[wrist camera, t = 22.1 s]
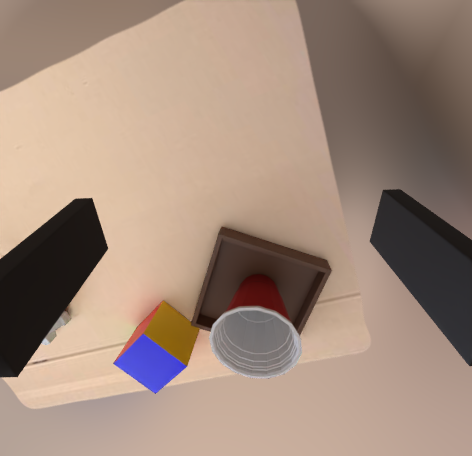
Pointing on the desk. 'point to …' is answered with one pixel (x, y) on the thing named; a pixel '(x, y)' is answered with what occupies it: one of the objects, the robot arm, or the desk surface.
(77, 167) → the desk surface
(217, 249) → the tray
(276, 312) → the plastic cup
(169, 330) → the cube
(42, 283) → the robot arm
